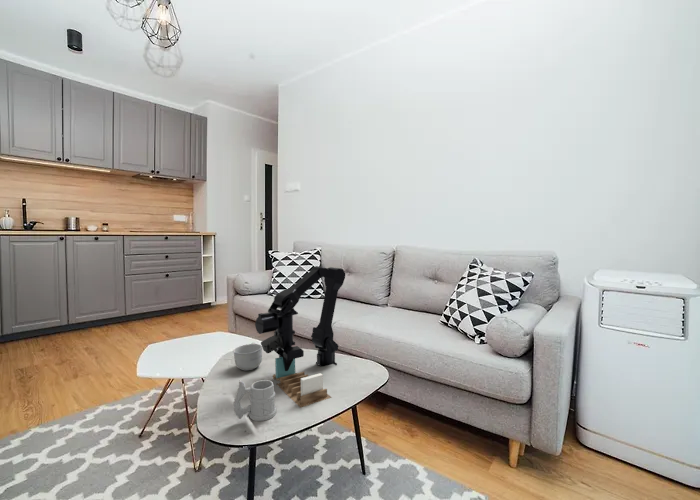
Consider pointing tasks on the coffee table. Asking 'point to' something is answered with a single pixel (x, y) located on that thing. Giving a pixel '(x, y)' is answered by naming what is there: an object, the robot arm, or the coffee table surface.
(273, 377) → the wooden slats
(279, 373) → the teal rectangular prism
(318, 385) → the cream plate
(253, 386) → the mug
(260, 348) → the teacup
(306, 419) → the coffee table surface
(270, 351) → the robot arm
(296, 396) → the rack
